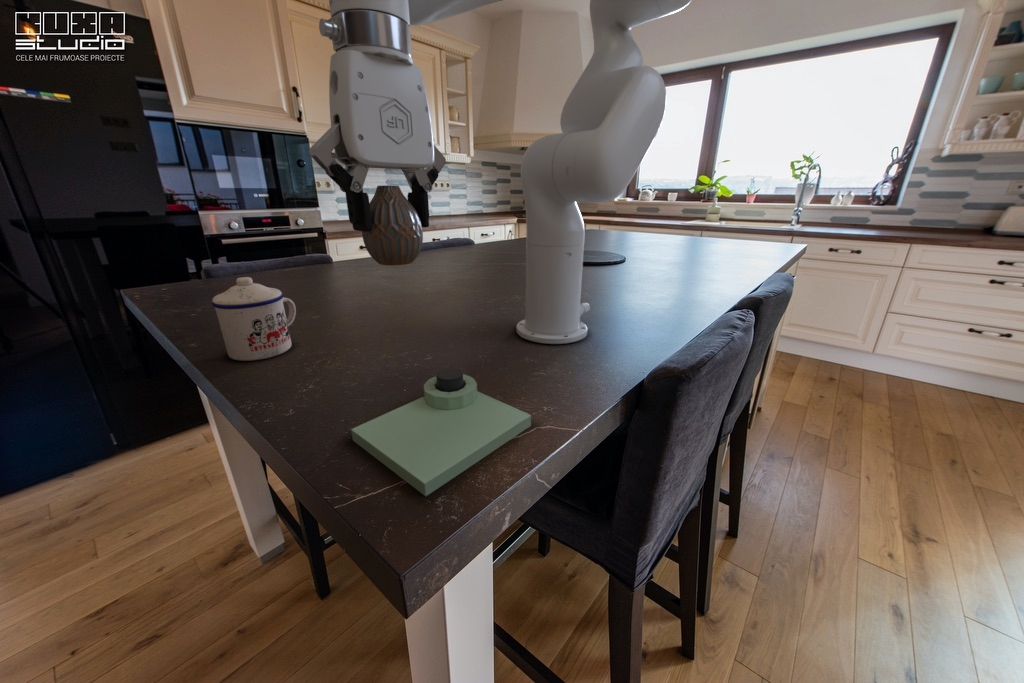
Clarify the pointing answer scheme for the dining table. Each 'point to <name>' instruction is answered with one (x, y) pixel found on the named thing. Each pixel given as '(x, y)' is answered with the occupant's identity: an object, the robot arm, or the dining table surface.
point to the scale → (440, 434)
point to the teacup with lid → (254, 320)
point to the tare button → (449, 380)
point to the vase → (393, 228)
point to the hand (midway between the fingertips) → (392, 227)
